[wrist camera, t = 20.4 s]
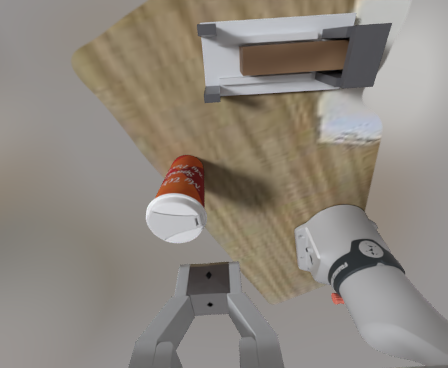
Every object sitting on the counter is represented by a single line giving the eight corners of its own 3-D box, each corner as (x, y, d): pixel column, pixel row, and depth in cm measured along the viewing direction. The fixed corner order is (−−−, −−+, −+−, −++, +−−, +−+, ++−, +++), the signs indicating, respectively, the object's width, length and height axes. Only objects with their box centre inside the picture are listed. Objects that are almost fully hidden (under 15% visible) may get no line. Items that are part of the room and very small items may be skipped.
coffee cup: (205, 146, 39) (200, 196, 26) (212, 184, 43) (211, 242, 31) (159, 152, 39) (132, 204, 26) (171, 189, 43) (153, 249, 31)
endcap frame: (334, 87, 34) (368, 99, 26) (207, 95, 34) (204, 110, 26) (350, 14, 29) (397, 4, 21) (200, 23, 29) (195, 17, 21)
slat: (337, 64, 31) (357, 68, 26) (239, 71, 31) (243, 76, 27) (343, 39, 29) (364, 38, 25) (239, 46, 29) (242, 47, 25)
